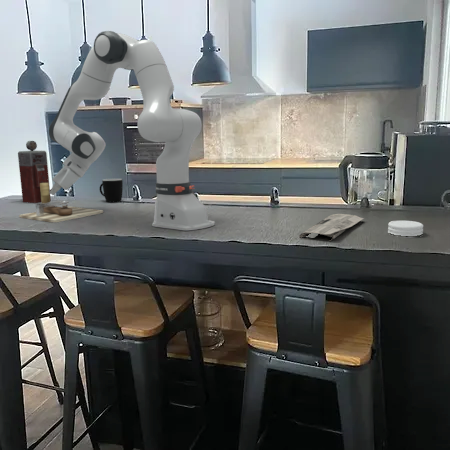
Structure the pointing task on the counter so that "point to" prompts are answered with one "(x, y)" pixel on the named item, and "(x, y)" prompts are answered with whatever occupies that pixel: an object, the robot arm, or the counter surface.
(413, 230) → the white round disc
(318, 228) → the newspaper
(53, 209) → the tan l-shaped piece
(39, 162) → the toy vending machine
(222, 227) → the counter surface
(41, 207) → the keeper
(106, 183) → the mug
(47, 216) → the pivot board
